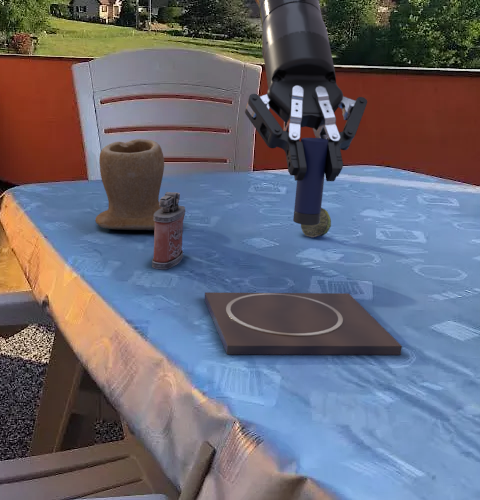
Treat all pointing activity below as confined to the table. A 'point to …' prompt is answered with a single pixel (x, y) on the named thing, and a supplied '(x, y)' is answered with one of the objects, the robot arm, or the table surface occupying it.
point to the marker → (311, 182)
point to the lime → (318, 226)
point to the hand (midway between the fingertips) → (317, 176)
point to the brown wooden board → (297, 324)
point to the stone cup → (131, 184)
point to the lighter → (168, 232)
